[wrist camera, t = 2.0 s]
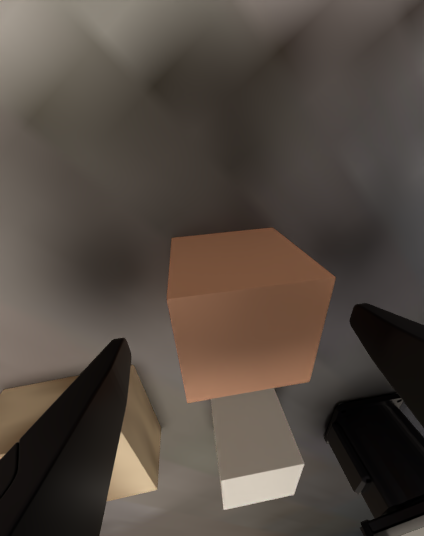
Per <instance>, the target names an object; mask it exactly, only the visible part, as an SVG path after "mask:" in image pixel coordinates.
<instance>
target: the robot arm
mask: <svg viewBox="0 0 424 536" xmlns="http://www.w3.org/2000/svg"><path fill="white" fill-rule="evenodd" d="M350 325H351V327H352V328H353V330H354V332H355V333H356V335H357V336H358V338H359V340H360V341H361V343H362V344H363V346H364V348H365V349H366V351H367V352H368V354H369V355H370V357H371V358H372V360H373V361H374V363H375V364H376V366H377V367H378V368H379V370H380V371H381V372H382V373H383V375H384V376H385V377H386V379H387V380H388V381H389V383H390V384H391V385H392V387H393V388H394V389H395V391H396V392H397V393H398V394H392V395H387V396H381V397H376V398H371V399H365V400H360V401H355V402H349V403H344V404H340V405H338V406H337V407H336V408H335V411H334V414H333V416H332V419H331V421H330V424H329V427H328V429H327V432H326V435H325V437H324V439H325V441H326V443H327V444H330V446H331V448H332V450H333V452H334V454H335V456H336V458H337V460H338V462H339V463H340V465H341V467H342V469H343V471H344V473H345V475H346V477H347V479H348V481H349V483H350V485H351V487H352V489H353V490H354V492H356V493H357V494H362V496H363V498H364V500H365V502H366V503H367V505H368V507H369V509H370V511H371V513H372V515H373V516H374V518H375V519H373V520H370V521H369V520H365V521H362V522H361V525H362V527H361V528H360V529H361V531H362V533H363V535H364V536H401V535H403V534H406V533H409V532H411V531H414V530H417V529H420V528H422V527H424V437H423V436H422V435H421V434H420V433H419V431H418V430H417V429H416V428H415V427H414V426H413V425H412V423H411V422H410V421H409V420H408V419H407V418H406V416H405V415H404V414H403V413H402V412H401V411H400V409H399V408H400V406H401V404H402V403H403V401H404V403H405V404H406V405H407V406H408V408H409V409H410V410H411V412H412V413H413V414H414V416H415V417H416V418H417V420H418V421H419V422H420V424H421V425H422V426H423V428H424V325H422V324H419V323H417V322H414V321H411V320H409V319H406V318H404V317H401V316H398V315H396V314H393V313H391V312H388V311H386V310H383V309H380V308H378V307H375V306H373V305H370V304H367V303H362V304H356V305H355V306H354V308H353V311H352V314H351V317H350ZM130 368H131V352H130V349H129V346H128V343H127V341H126V339H125V338H118V339H113V340H112V341H111V342H110V343H109V344H108V345H107V346H106V347H105V348H104V349H103V350H102V352H101V353H100V354H99V355H98V356H97V357H96V358H95V359H94V360H93V361H92V362H91V363H90V364H89V365H88V366H87V368H86V369H85V370H84V371H83V372H82V373H81V374H80V375H79V376H78V377H77V378H76V379H75V380H74V381H73V382H72V384H71V385H70V386H69V387H68V388H67V389H66V390H65V391H64V392H63V393H62V394H61V395H60V396H59V397H58V398H57V400H56V401H55V402H54V403H53V404H52V405H51V406H50V407H49V408H48V409H47V410H46V411H45V412H44V413H43V414H42V416H41V417H40V418H39V419H38V420H37V421H36V422H35V423H34V424H33V425H32V426H31V427H30V428H29V429H28V430H27V432H26V433H25V434H24V435H23V436H22V437H21V438H20V439H19V442H16V443H15V444H14V445H13V446H12V447H11V448H10V450H9V451H8V452H7V453H6V454H5V455H4V456H3V457H2V458H1V459H0V536H99V534H100V530H101V525H102V520H103V515H104V510H105V506H106V501H107V496H108V491H109V487H110V482H111V477H112V472H113V467H114V463H115V458H116V453H117V448H118V443H119V439H120V434H121V429H122V424H123V420H124V415H125V410H126V405H127V398H128V388H129V378H130Z"/></svg>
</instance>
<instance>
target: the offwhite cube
mask: <svg viewBox="0 0 424 536" xmlns="http://www.w3.org/2000/svg"><path fill="white" fill-rule="evenodd" d="M211 408H212V418H213V427H214V436H215V444H216V452H217V460H218V468H219V476H220V484H221V492H222V500H223V508H224V510H226V509H231V508H235V507H240V506H245V505H249V504H254V503H258V502H263V501H268V500H272V499H277V498H281V497H286V496H290V495H294V493H295V490H296V487H297V484H298V481H299V478H300V475H301V472H302V469H303V466H304V462H303V459H302V457H301V454H300V452H299V449H298V447H297V444H296V442H295V439H294V437H293V434H292V432H291V429H290V427H289V424H288V422H287V419H286V417H285V414H284V412H283V409H282V407H281V404H280V402H279V399H278V397H277V394H276V392H275V389H274V388H271V389H265V390H260V391H254V392H248V393H242V394H237V395H231V396H225V397H220V398H214V399H211Z"/></svg>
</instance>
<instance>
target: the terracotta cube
mask: <svg viewBox="0 0 424 536" xmlns="http://www.w3.org/2000/svg"><path fill="white" fill-rule="evenodd" d="M335 279H336V277H335V276H334V275H332V274H331V273H330V272H329V271H327V270H326V269H325V268H323V267H322V266H321V265H320V264H318V263H317V262H316V261H315V260H313V259H312V258H311V257H310V256H308V255H307V254H306V253H304V252H303V251H302V250H301V249H299V248H298V247H297V246H296V245H294V244H293V243H292V242H291V241H289V240H288V239H287V238H286V237H284V236H283V235H282V234H280V233H279V232H278V231H277V230H275V229H274V228H273V227H271V228H262V229H252V230H243V231H233V232H223V233H214V234H204V235H195V236H185V237H176V238H172V241H171V253H170V265H169V277H168V289H167V304H168V308H169V313H170V318H171V323H172V328H173V333H174V338H175V343H176V348H177V353H178V358H179V363H180V368H181V373H182V378H183V383H184V388H185V393H186V398H187V403H191V402H197V401H202V400H208V399H214V398H220V397H225V396H231V395H237V394H242V393H248V392H254V391H260V390H265V389H271V388H277V387H282V386H288V385H294V384H300V383H305V382H310V378H311V374H312V370H313V366H314V362H315V358H316V354H317V350H318V346H319V342H320V338H321V334H322V330H323V326H324V322H325V318H326V315H327V311H328V307H329V303H330V299H331V295H332V291H333V287H334V283H335Z"/></svg>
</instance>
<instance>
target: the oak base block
mask: <svg viewBox="0 0 424 536" xmlns="http://www.w3.org/2000/svg"><path fill="white" fill-rule="evenodd" d="M78 376H79V375H78ZM78 376H73V377H68V378H62V379H57V380H52V381H46V382H41V383H36V384H31V385H25V386H20V387H15V388H9V389H4V390H3V391H2V393H1V394H0V459H1V458H2V457H3V456H4V455H5V454H6V453H7V452H8V451H9V450H10V448H11V447H12V446H13V445H14V444H15V443H16V442H19V439H20V438H21V437H22V436H23V435H24V434H25V433H26V432H27V430H28V429H29V428H30V427H31V426H32V425H33V424H34V423H35V422H36V421H37V420H38V419H39V418H40V417H41V416H42V414H43V413H44V412H45V411H46V410H47V409H48V408H49V407H50V406H51V405H52V404H53V403H54V402H55V401H56V400H57V398H58V397H59V396H60V395H61V394H62V393H63V392H64V391H65V390H66V389H67V388H68V387H69V386H70V385H71V384H72V382H73V381H74V380H75V379H76V378H77V377H78ZM160 438H161V427H160V424H159V422H158V420H157V418H156V415H155V413H154V411H153V408H152V406H151V404H150V402H149V399H148V397H147V395H146V392H145V390H144V388H143V386H142V383H141V381H140V379H139V376H138V374H137V372H136V370H135V367H134V365H131V368H130V378H129V388H128V398H127V405H126V410H125V415H124V420H123V424H122V429H121V434H120V439H119V443H118V448H117V453H116V458H115V463H114V467H113V472H112V477H111V482H110V487H109V491H108V496H107V501H111V500H115V499H119V498H123V497H128V496H132V495H136V494H141V493H145V492H149V491H154V490H157V486H158V470H159V454H160Z"/></svg>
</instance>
